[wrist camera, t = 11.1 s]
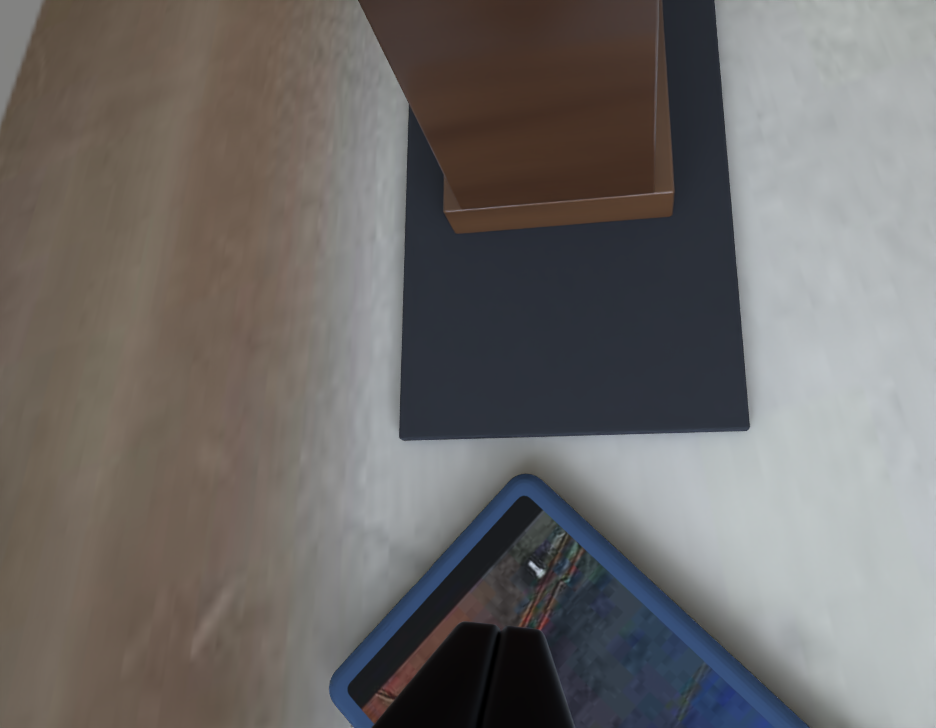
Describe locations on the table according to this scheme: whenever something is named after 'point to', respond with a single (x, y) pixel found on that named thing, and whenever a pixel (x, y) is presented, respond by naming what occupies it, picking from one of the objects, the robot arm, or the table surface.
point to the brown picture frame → (537, 106)
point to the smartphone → (561, 626)
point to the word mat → (583, 295)
